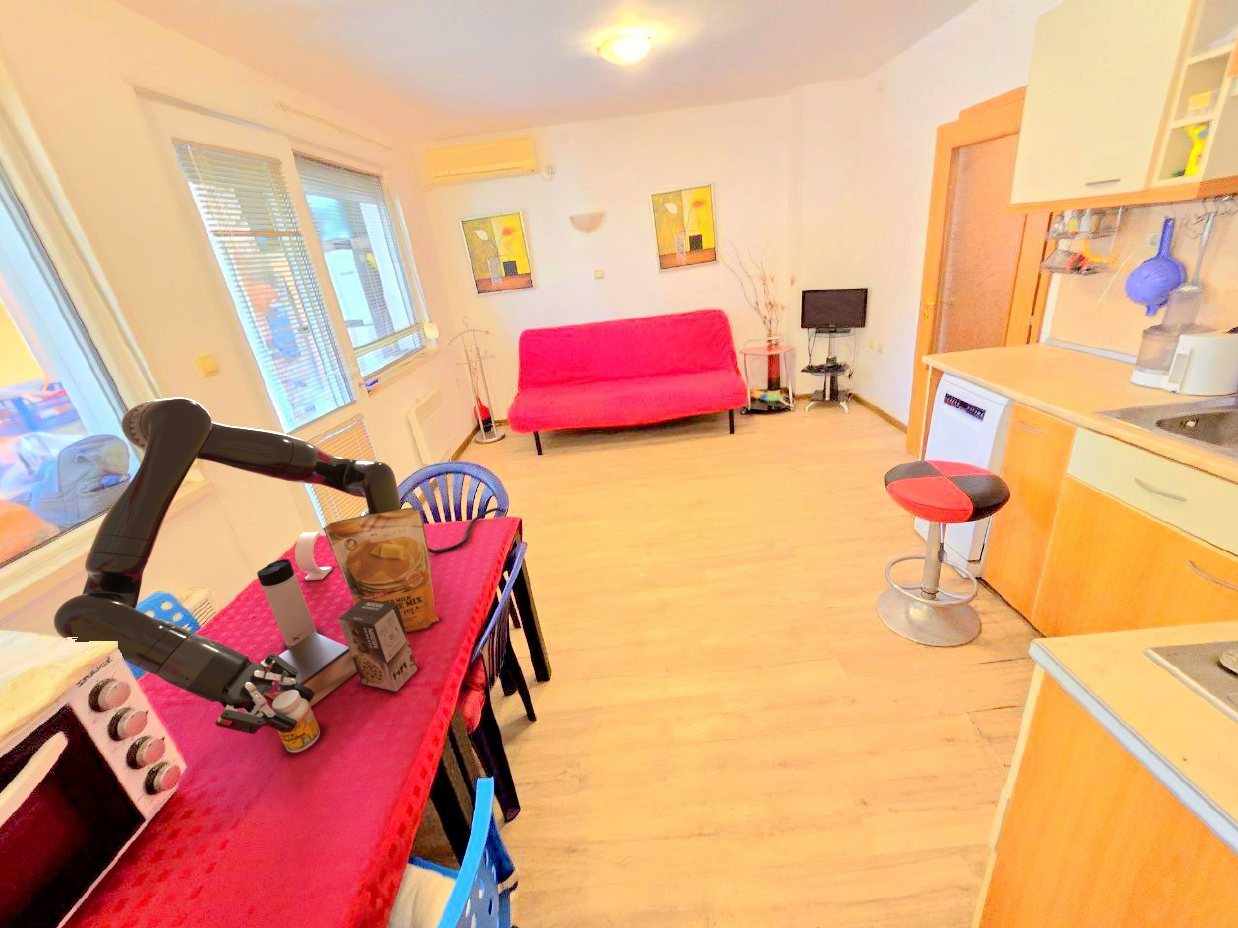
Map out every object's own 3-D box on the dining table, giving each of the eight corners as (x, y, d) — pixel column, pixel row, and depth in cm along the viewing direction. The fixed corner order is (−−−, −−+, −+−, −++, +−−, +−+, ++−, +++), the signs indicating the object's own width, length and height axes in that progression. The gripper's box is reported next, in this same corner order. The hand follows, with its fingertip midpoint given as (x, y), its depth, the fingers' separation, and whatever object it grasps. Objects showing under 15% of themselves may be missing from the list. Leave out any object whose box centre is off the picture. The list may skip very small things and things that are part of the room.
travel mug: (304, 650, 110) (274, 573, 103) (279, 648, 112) (247, 572, 104) (325, 631, 116) (297, 557, 108) (301, 629, 117) (272, 555, 110)
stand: (322, 654, 109) (314, 631, 106) (358, 670, 103) (349, 647, 101) (265, 694, 99) (254, 670, 97) (300, 715, 93) (290, 690, 91)
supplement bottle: (324, 723, 91) (308, 683, 88) (315, 749, 86) (297, 707, 83) (292, 731, 90) (274, 690, 87) (280, 757, 85) (261, 715, 82)
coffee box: (418, 668, 102) (399, 603, 96) (396, 693, 96) (374, 625, 91) (383, 660, 105) (362, 596, 99) (359, 683, 100) (336, 617, 94)
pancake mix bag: (362, 624, 117) (326, 517, 107) (447, 608, 120) (420, 503, 110) (354, 644, 111) (316, 532, 101) (443, 626, 114) (415, 516, 104)
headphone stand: (332, 569, 142) (319, 531, 137) (319, 581, 136) (306, 543, 132) (316, 569, 142) (303, 532, 137) (303, 582, 136) (289, 544, 132)
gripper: (182, 686, 74) (292, 735, 78) (242, 622, 87) (333, 667, 92) (159, 718, 75) (269, 763, 80) (222, 650, 89) (312, 693, 94)
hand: (302, 712), depth 86 cm, fingers closed on supplement bottle, 5 cm apart
